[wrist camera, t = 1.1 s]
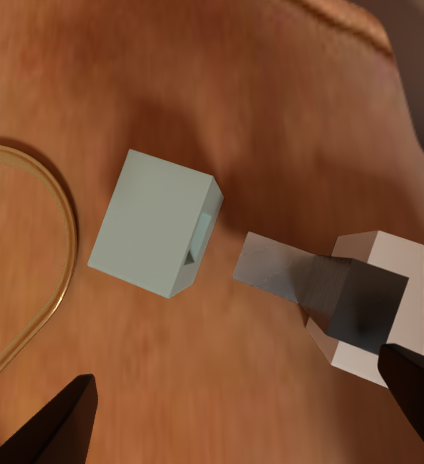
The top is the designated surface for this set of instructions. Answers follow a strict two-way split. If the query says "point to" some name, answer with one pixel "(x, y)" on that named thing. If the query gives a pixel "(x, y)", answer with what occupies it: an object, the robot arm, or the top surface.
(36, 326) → the serving platter
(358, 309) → the grey bridging bar
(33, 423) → the robot arm
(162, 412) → the top surface
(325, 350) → the sleeve
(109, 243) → the socket block
